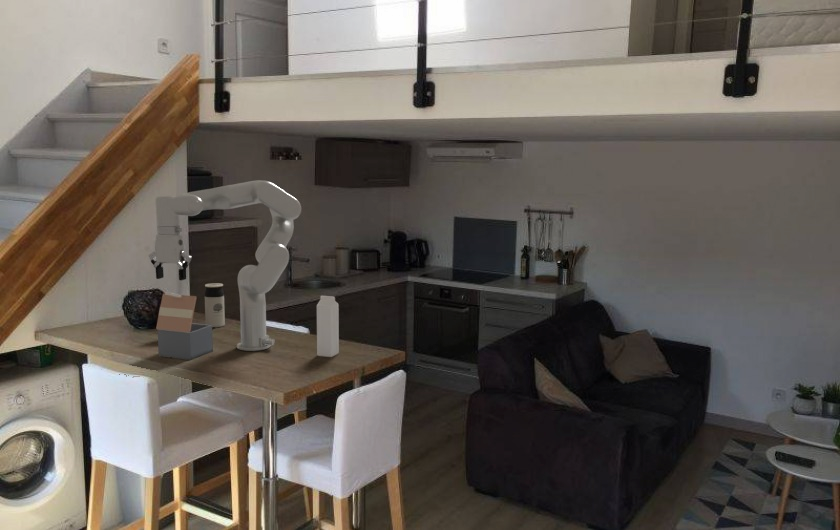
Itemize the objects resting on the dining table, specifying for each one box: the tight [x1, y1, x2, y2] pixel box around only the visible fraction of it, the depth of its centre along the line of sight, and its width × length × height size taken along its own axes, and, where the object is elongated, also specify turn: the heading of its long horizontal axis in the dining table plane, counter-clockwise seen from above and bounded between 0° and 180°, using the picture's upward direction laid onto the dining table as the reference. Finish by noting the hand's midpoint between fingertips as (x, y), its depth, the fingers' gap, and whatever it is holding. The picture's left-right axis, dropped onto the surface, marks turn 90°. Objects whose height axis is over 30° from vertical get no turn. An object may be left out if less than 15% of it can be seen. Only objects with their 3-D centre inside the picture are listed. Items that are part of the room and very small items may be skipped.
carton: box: [157, 322, 214, 361], centre depth 258 cm, size 14×13×10 cm
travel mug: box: [204, 282, 226, 328], centre depth 302 cm, size 8×8×18 cm
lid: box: [156, 291, 197, 333], centre depth 249 cm, size 14×13×7 cm
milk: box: [316, 295, 340, 358], centre depth 258 cm, size 6×6×22 cm
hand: (171, 279), depth 248 cm, fingers open, 9 cm apart
